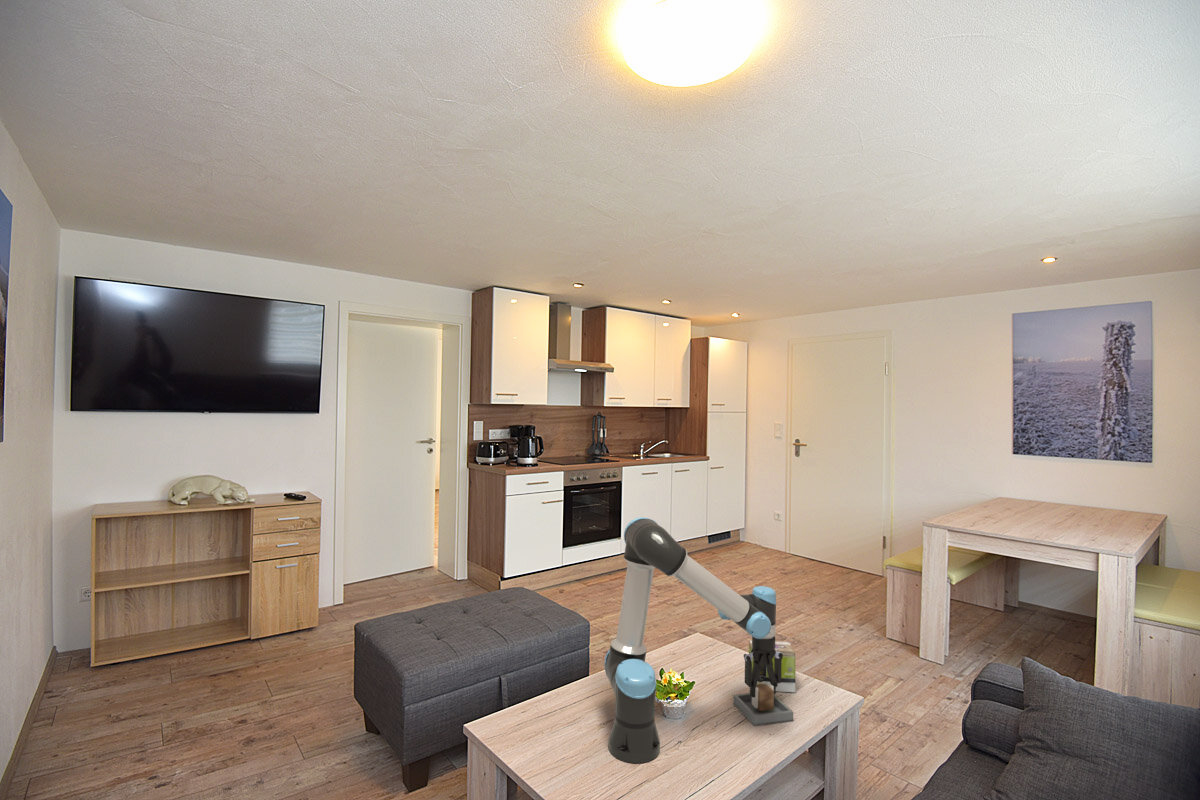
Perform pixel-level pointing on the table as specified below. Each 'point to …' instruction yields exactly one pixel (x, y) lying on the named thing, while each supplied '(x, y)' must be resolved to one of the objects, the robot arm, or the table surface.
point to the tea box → (786, 667)
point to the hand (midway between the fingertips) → (762, 705)
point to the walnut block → (765, 697)
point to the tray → (762, 717)
